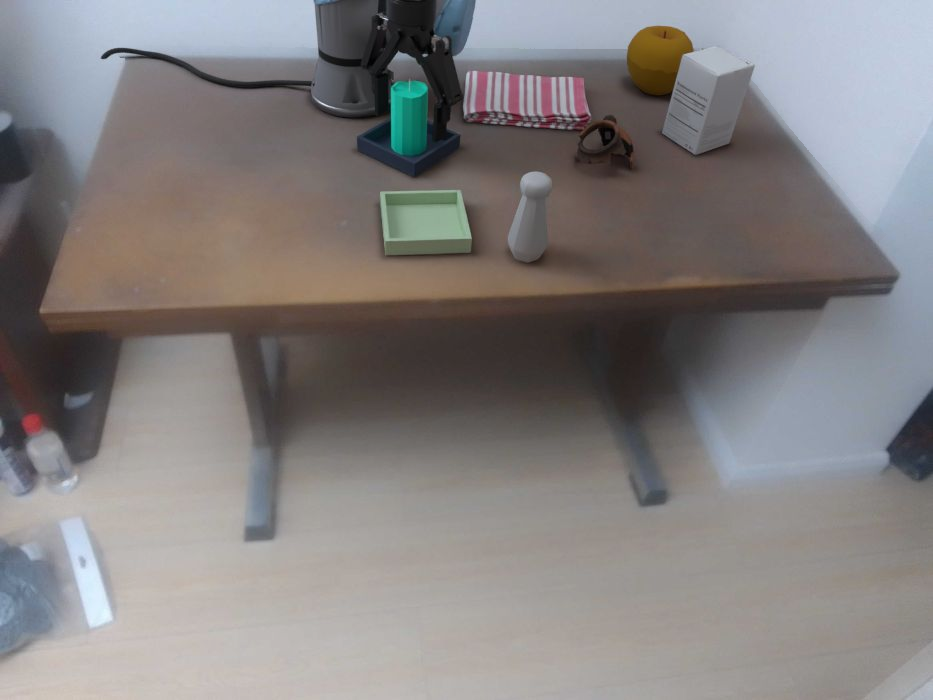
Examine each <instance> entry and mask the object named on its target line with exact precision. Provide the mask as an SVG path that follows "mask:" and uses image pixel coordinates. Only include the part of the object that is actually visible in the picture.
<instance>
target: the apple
mask: <svg viewBox="0 0 933 700" xmlns="http://www.w3.org/2000/svg"><path fill="white" fill-rule="evenodd" d="M694 50H695V49H694V46H693V42H692V40H691V39H690V38H689V36H688V35H687V33H686V32H685V31H683V30H681V29H679V28H677V27H673V26H668V25H653V26H651V25H650V26H646V27H644V28H642V29H640V30H639V31H637V32H636V33H635V35H634V36H633V37H632V38H631V40H630V42H629V44H628V45H627V53H626V66H627V70H628V74H629V76H630V78H631V80H632V83H633V84H634V85H635V86H636V88H638V90H640V91H642V92H643V93H645V94H647V95H651V96H665V95H667V94H670V93H672V92H673V89H674V86H675V82H676V78H677V74H678V71H679V67H680V63H681V59H682V55H683V54H687V53H691V52H695V51H694Z"/></svg>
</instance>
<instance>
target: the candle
mask: <svg viewBox="0 0 933 700" xmlns="http://www.w3.org/2000/svg"><path fill="white" fill-rule="evenodd" d="M393 84H394V85H393V86H392V87H391V107H390V118H391V147H392V149H393V150H394V151H395V152H397V153H399V154H401V155H409V156H413V155H418V154H421V153H422V152H424V151H425V150H426V142H427V120H428V106H429V105H428V103H429V87H428V85H427V84H426V83H425V82H423V81H419V80H411V78H409V79H408V81H406V80H405V81H404V80H397V81H396V82H395V83H393Z"/></svg>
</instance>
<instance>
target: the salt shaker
mask: <svg viewBox="0 0 933 700" xmlns="http://www.w3.org/2000/svg"><path fill="white" fill-rule="evenodd" d="M519 189H520V193H521V194H522V195H521V198H520V202H519V204H518V207H517V210H516V213H515V215H514V218H513V221H512V223H511V226H510V229H509V232H508V235H507V244H508V247H509V249H510V251H511V254H512V255H513V257H514V259H515V260H517V261H520V262H523V263H527V264H528V263H531V262H534V261H537V260H539V259H540V258H541V256H542V255H543V254H544V252H545V251H546V249H547V247H548V244H549V236H548V235H549V234H548V219H547V200H546V199H547V198H548V197H549V196H550V194H551V192H552V189H553V180H552V178H551V177H550V176H548V174H546V173H545V172H541V171H529V172H527V173H525V174H523V176H522V178H521V179H520V182H519Z"/></svg>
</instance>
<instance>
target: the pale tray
mask: <svg viewBox="0 0 933 700" xmlns="http://www.w3.org/2000/svg"><path fill="white" fill-rule="evenodd" d="M379 193H380V194H379V202H380V203H379V204H380V205H379V207H380V217H381V227H382V236H383V245H384V246H383V248H384V255H385V256H411V255H412V256H413V255H415V256H417V255H441V254H444V255H445V254H471V253H472V244H473V243H472V242H473V241H472V240H473V237H472V232H471V227H470V223H469V221H468V216H467V210H466V205H465V202H464V198H463V194H462V190H461V189H442V190H441V189H439V190H438V189H437V190H436V189H435V190H393V191H392V190H390V191H389V190H388V191H386V190H385V191H380V192H379Z"/></svg>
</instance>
